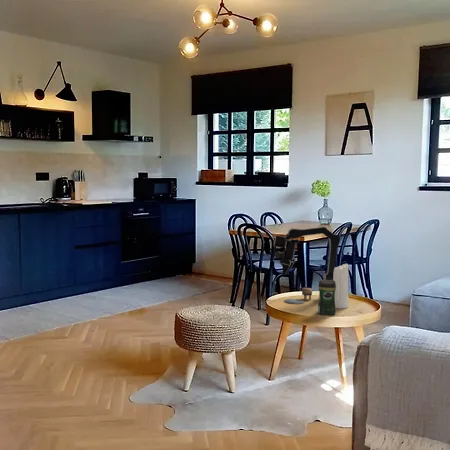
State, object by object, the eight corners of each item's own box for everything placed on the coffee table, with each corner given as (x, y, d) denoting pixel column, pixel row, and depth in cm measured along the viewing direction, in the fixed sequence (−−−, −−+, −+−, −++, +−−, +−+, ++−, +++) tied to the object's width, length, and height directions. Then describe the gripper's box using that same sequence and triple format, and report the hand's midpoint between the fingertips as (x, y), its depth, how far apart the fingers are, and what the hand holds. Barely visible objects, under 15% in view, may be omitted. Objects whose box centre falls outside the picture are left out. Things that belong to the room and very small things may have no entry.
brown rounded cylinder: (313, 299, 338) (314, 288, 337) (307, 300, 333) (308, 290, 333) (305, 297, 342) (306, 287, 341) (299, 299, 338) (300, 288, 337)
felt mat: (308, 302, 331) (308, 301, 331) (296, 305, 322) (296, 304, 322) (292, 298, 339) (292, 297, 339) (280, 301, 331) (280, 300, 330)
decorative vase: (327, 306, 319) (328, 263, 317) (332, 303, 329) (334, 261, 326) (345, 309, 314) (347, 265, 312) (350, 305, 324) (352, 263, 321)
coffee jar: (334, 312, 307) (335, 278, 306) (336, 315, 300) (337, 281, 298) (316, 311, 308) (317, 278, 306) (318, 315, 300) (319, 281, 299)
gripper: (280, 245, 350) (275, 269, 351) (274, 247, 332) (269, 272, 333) (297, 249, 347) (292, 273, 348) (292, 251, 329) (287, 277, 330)
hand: (285, 274), depth 340 cm, fingers open, 9 cm apart
